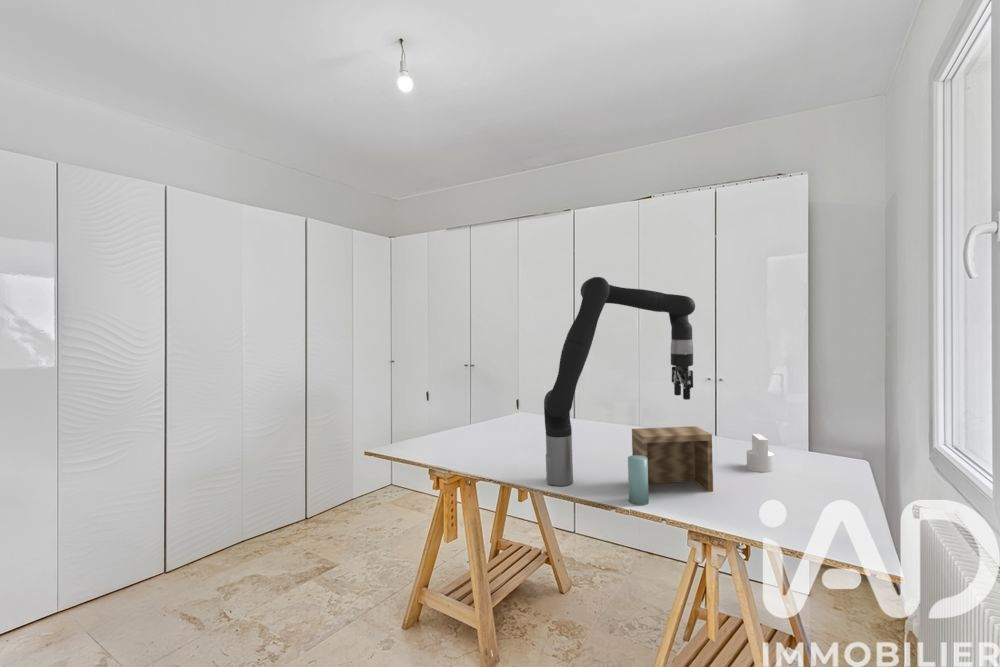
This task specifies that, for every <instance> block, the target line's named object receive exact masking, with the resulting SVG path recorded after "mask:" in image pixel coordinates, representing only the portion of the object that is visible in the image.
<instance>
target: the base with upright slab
mask: <svg viewBox="0 0 1000 667" xmlns="http://www.w3.org/2000/svg"><path fill="white" fill-rule="evenodd" d="M751 444H752V445H751V449H748V450H747V451H746V468H747V470H750V471H753V472H757V473H766V474H767V473H773V472H775V454H774V452H772V451H769V439H768V438H766V437H765V436H764V435H762V434H761V433H751Z"/></svg>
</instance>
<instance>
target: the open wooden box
mask: <svg viewBox="0 0 1000 667" xmlns="http://www.w3.org/2000/svg"><path fill="white" fill-rule="evenodd" d="M631 447H632V448H631V449H632V450H631V451H632V455H641V456H645V457H647V458H648V484H652V483H653V484H654V483H658V484H659V483H678V482H679V483H680V482H682V483H683V482H696V483H697V484H699V485H700V486H701V487H702V488H703V489H705V490H706V491H707V492H709V493H711V492H714V475H713V474H714V473H713V471H714V470H713V467H714V466H713V463H714V462H713V434H712V433H710V432H709V431H706V430H705V429H702V428H700V427H699V426H695V425H694V426H671V427H667V426H665V427H645V428H643V427H642V428H640V427H639V428H631ZM632 455H631V456H632Z"/></svg>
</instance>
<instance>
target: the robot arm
mask: <svg viewBox="0 0 1000 667" xmlns="http://www.w3.org/2000/svg"><path fill="white" fill-rule="evenodd" d="M580 296H581V298H582V299H581V304H580V307H579V310H578V312H577V315H576V317H575V318H574V321H573V323H572V324H571V326H570V329H569V330H568V332H567V334H566V337H565V340H564V343H563V345H562V349H561V352H560V358H559V365H558V372H557V377H556V380H555V383H554V385H553V388H552V389H551V390H549V391H547V393H546V394H545V396H544V398H543V399H544V400H543V408H544V410H543V411H544V412H543V413H544V426H545V427H544V428H545V446H546V447H545V452H546V453H545V467H546V468H545V474H546V482H547V485H549V486H556V487H564V486H570V485H571V484H573V483H574V470H573V468H574V467H573V466H574V464H573V437H572V435H573V434H572V430H573V429H572V424H571V409H572V408H573V403H574V397H575V393H576V389H577V385H578V382H579V379H580V378H581V374H582V373H583V370H584V366H585V364H586V361H587V359H588V356H589V354H590V350H591V347H592V345H593V341H594V337H595V333H596V330H597V325H598V322H599V319H600V315H601V313H602V311H603V309H604V307H605V304H613V305H621V306H625V307H626V306H627V307H631V308H635V309H639V310H645V311H651V312H657V313H658V312H659V313H667V314H668V315H669V316H668V318H669V323H670V326H671V338H670V339H671V341H670V342H671V343H670V366H671V383H672V384H673V386H674V387H673V390H674V391H673V395H674V396H681V395H682V399H683V400H684V401H686V400H691V389H692V388H694V372H693V370H690V368H689V367H692V366H693V365H694V343H693V325H692V324H691V323H690V322H689V316H690V315H692V314H693V313H694V311H695V309H696V303H695V301H694V299H692V298H691V297H690V296H688V295H682V294H674V293H673V294H672V293H664V292H661V291H656V290H655V291H654V290H648V289H643V288H632V287H631V288H629V287H621V286H617V285H612V284H609V282H608V281H607V280H606V279H605V278H604V277H601V276H594V277H593V276H592V277H590V278H589V279H588V278H587V279H586V280H585V281H584V282H583V283H582V284H581V287H580Z"/></svg>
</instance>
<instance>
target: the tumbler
mask: <svg viewBox="0 0 1000 667" xmlns="http://www.w3.org/2000/svg"><path fill="white" fill-rule="evenodd" d="M627 471H628V472H627V475H628V478H627V479H628V502H629V503H630V504H632V505H635V506H646V505H648V504H649V502H650V501H649V500H650V499H649V498H650V497H649V483H648V458H647V457H645V456H641V455H629V456H627Z"/></svg>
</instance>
